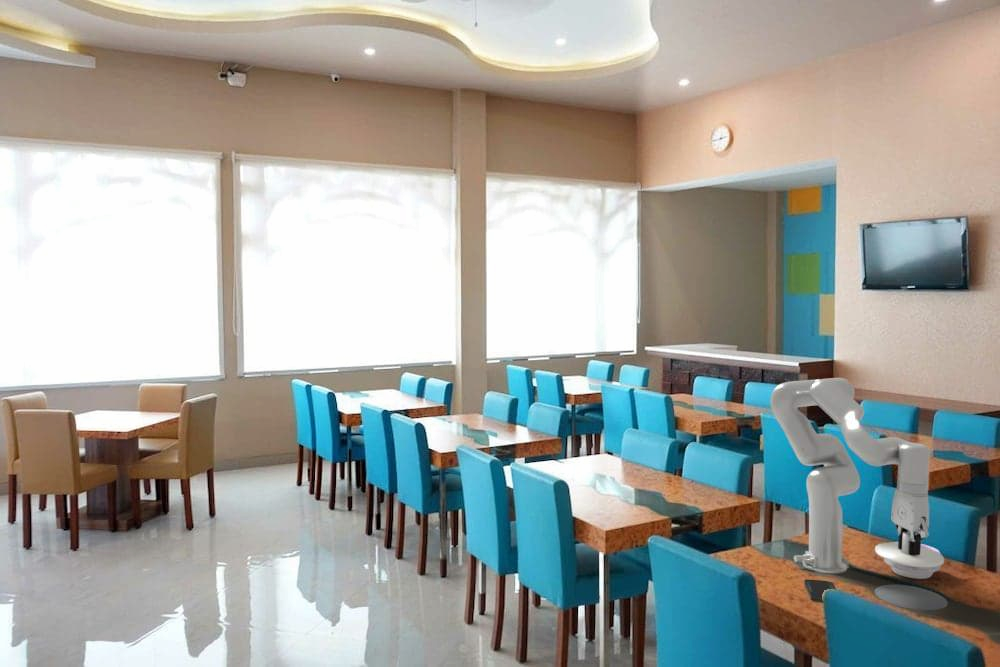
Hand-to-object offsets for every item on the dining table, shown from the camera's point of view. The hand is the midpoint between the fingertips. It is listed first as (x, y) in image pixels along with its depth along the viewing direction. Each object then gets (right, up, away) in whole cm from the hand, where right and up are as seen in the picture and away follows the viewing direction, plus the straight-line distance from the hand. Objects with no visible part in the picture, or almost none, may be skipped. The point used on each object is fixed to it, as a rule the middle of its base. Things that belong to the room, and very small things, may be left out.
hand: (908, 551), depth 212 cm
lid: (0, -1, 0) cm, 1 cm away
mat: (0, -13, 0) cm, 13 cm away
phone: (-22, -14, +5) cm, 27 cm away
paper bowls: (+11, -13, +19) cm, 25 cm away
